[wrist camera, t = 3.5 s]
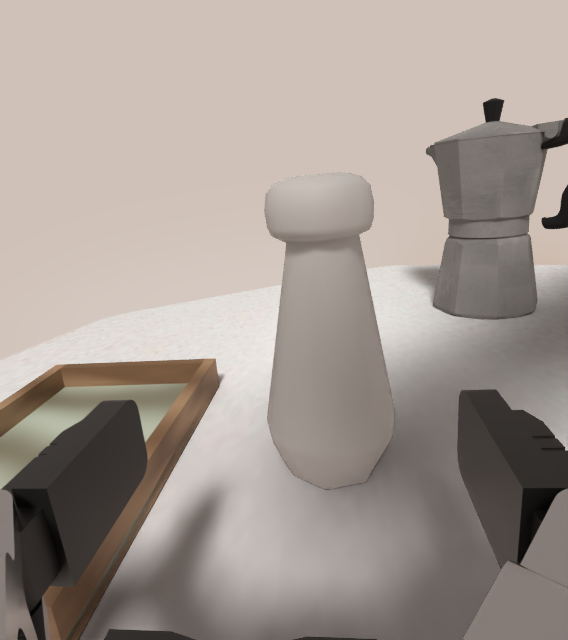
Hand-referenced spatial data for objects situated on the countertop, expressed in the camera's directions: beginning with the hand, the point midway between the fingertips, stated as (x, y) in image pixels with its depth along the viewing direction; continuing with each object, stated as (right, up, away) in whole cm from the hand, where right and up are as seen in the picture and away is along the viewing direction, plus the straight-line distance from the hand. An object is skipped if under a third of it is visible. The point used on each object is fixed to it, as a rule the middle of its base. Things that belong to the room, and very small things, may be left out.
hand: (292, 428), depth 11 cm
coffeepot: (+19, +4, +31) cm, 37 cm away
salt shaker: (+2, -4, +10) cm, 11 cm away
